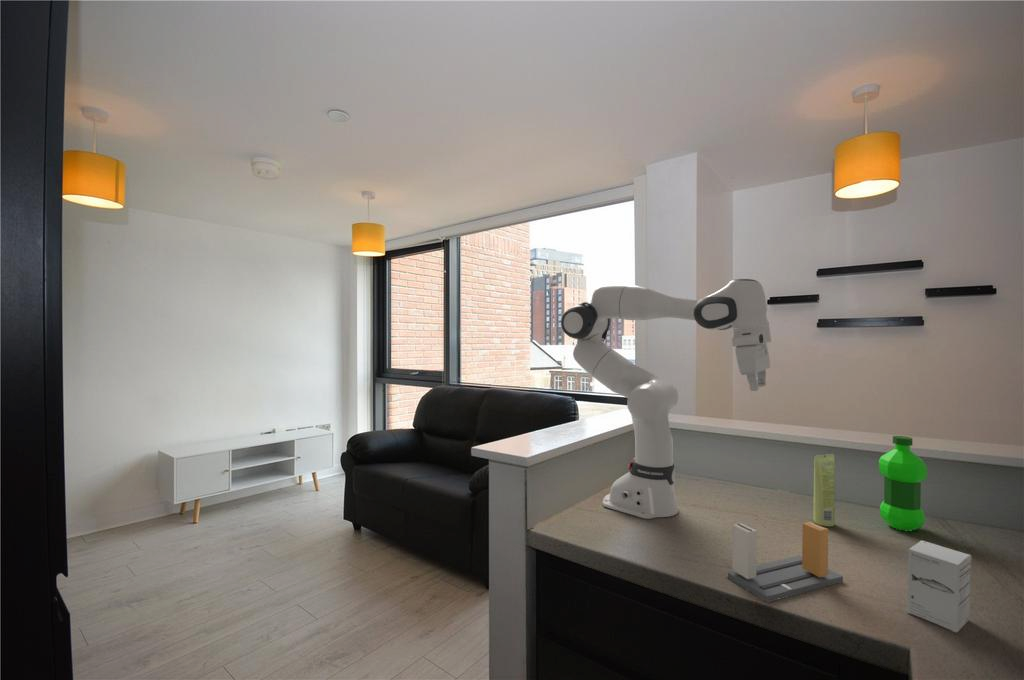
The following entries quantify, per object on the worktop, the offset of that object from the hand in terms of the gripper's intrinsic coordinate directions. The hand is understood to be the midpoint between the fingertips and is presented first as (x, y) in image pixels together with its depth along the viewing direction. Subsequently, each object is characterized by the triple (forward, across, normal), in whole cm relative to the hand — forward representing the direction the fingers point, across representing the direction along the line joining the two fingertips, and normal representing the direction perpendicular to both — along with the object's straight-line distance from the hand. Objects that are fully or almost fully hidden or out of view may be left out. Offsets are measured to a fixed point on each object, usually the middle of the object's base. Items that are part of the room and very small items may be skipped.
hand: (758, 388), depth 124 cm
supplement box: (+42, +21, +30) cm, 56 cm away
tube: (+41, -16, +9) cm, 45 cm away
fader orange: (+38, +20, +11) cm, 44 cm away
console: (+39, +24, +6) cm, 46 cm away
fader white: (+36, +31, -1) cm, 48 cm away
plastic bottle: (+43, -27, +26) cm, 57 cm away
